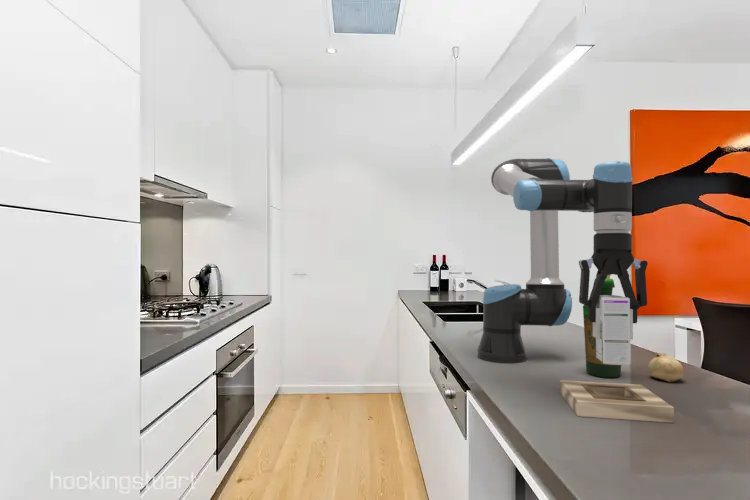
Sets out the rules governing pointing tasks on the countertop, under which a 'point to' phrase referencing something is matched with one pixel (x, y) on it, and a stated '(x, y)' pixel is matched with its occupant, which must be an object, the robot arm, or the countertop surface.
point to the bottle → (592, 362)
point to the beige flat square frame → (615, 401)
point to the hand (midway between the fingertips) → (612, 337)
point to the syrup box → (614, 330)
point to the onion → (665, 368)
